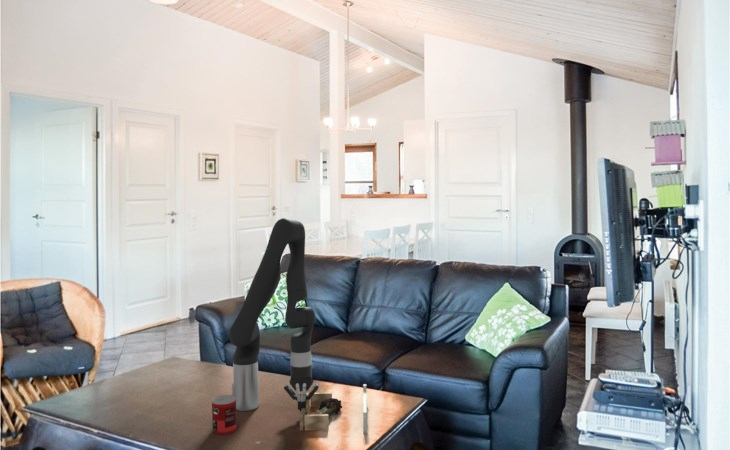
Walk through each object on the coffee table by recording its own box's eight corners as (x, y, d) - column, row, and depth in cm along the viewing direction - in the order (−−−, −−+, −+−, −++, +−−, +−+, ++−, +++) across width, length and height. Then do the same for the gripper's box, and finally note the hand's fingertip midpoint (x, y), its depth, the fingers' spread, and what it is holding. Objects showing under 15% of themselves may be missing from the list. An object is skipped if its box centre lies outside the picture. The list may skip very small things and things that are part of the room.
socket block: (299, 430, 186) (299, 416, 185) (306, 405, 208) (306, 392, 208) (328, 430, 186) (328, 415, 186) (332, 405, 208) (331, 392, 208)
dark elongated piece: (320, 430, 187) (319, 413, 186) (303, 426, 190) (303, 410, 189) (344, 411, 203) (344, 396, 202) (328, 408, 206) (328, 393, 205)
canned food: (214, 426, 190) (214, 395, 190) (238, 425, 191) (237, 394, 190) (210, 435, 183) (209, 403, 182) (234, 434, 183) (234, 402, 183)
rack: (363, 433, 183) (363, 412, 183) (363, 402, 211) (363, 384, 211) (367, 433, 183) (366, 412, 183) (366, 402, 211) (366, 384, 211)
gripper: (281, 366, 192) (282, 415, 193) (318, 366, 192) (319, 414, 193) (284, 360, 200) (285, 407, 200) (320, 359, 200) (321, 406, 200)
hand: (302, 410), depth 197 cm, fingers closed
